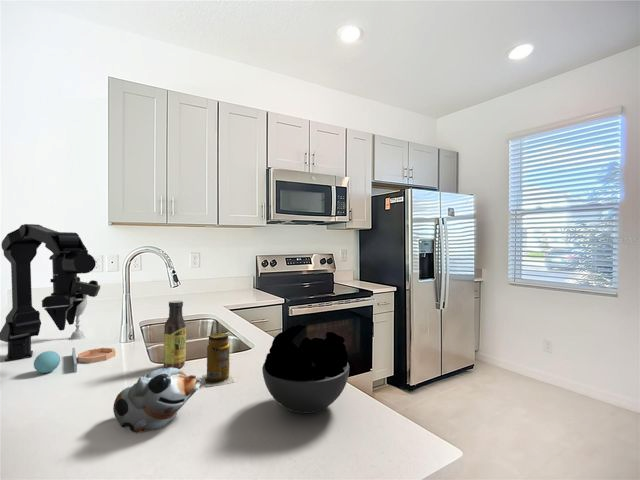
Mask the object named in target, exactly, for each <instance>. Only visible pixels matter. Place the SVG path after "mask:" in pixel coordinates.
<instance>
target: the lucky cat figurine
mask: <svg viewBox="0 0 640 480" xmlns="http://www.w3.org/2000/svg"><path fill="white" fill-rule="evenodd" d="M201 384H202V379H201V378H199V377H197V376H196V375H194V374H193V375H192V374H191V375H187V374H186V373H185V372H184V371H183V370H180V368H171V367H170V368H158V369H155V370H152V371H150V372H148V373H147V374H146V375H145V376H143V375H141V376H140V377H138V380H137V382H136V383H134V384H133V385H131V386H128V387H125V388H123V390H121V391H120V392H119V393H118V394H117V395H116V398H115V400H114V402H113V414H114V418H115V419H116V421H117V422H118V425H119V426H120V427H121V428H128V429H129V430H130V431H131V432H133V433H135V434H138V433H143V432H148V431H149V432H150V431H154V430H158V429H162V428H164V427H165V425H166V424H168V422H170V421H172V420H173V419H174V417H175V416H176V414H177V413H178V411H180V409H181V408H182V407H183V406H184V405H185V404H186V403H187V402H188V400H190V398H192V396H193V395H194V394H195V393H196V392H197V391H198V389H199V388H200V386H201Z"/></svg>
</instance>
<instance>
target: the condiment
mask: <svg viewBox="0 0 640 480" xmlns="http://www.w3.org/2000/svg"><path fill="white" fill-rule="evenodd" d="M206 354H207V355H206V373H205V374H202V378H203V380H204V381H203V382H204V384H205V387H213V386H220V385H226V384H230V383H232V384H233V383H235V381H234V378H233V377H232V375H231V373H230V344H229V335H228V334H227V333H223V332H217V333H212V334H210V335H209V336H208V345H207V347H206Z"/></svg>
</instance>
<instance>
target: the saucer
mask: <svg viewBox="0 0 640 480" xmlns="http://www.w3.org/2000/svg"><path fill="white" fill-rule="evenodd" d="M115 356H116V348H114V347H98V348H97V347H96V348H91V349H87V350H84V351H83V352H80V353H78V354H77V362H78V363H80V362H84V363H87V364H93V363H97V362H103V361H107V360H109V359H111V358H114V357H115ZM84 363H83V364H84Z"/></svg>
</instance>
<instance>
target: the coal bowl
mask: <svg viewBox="0 0 640 480" xmlns="http://www.w3.org/2000/svg"><path fill="white" fill-rule="evenodd" d="M307 327H308V325H301V324H298V325H294V326H290V327H288V328H287V329H285V330H284V331H283V332H278V334H276V335H275V337H274V338H273V340H272V343H271V345H270V348H269V352H268V353H267V354H266V357H265V360H264V363H263V365H262V377H263V381H264V383H265V387H266V389H267V391H268V392H269V394H270V396H271V397H272V398H273V399H274V400H275V401H276V403H278V404H279V405H281V406H282V407H283V408H285V409H287V410H289V411H291V412H295V413H299V414H300V413H301V414H310V413H312V414H313V413H316V412H318V411H322V410H324V409H326V408H328V407H329V406H330V405H332V404H333V403H335V401H336V400H338V398H339V397H340V396H341V394H342V393H343V392H344V389H345V387H346V384H347V383H348V379H349V374H350V364H349V362H348V358H349V356H348V352H347V347H346V345H345V341H346V339H345V338H344V336H341V335H338V334H336V332H332V331H327V332H326V333H325V338H321V337H320V338H319V337H312V338H311V339H310V338H309V337H305V338H303V339H302V340H301V342H300V344H299V346H298V345H296V343H294V342H293V341H294V339H295V337H296V336H297V335H299V334H300V333H301V332H302V331H303V330H304V329H305V328H307Z"/></svg>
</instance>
